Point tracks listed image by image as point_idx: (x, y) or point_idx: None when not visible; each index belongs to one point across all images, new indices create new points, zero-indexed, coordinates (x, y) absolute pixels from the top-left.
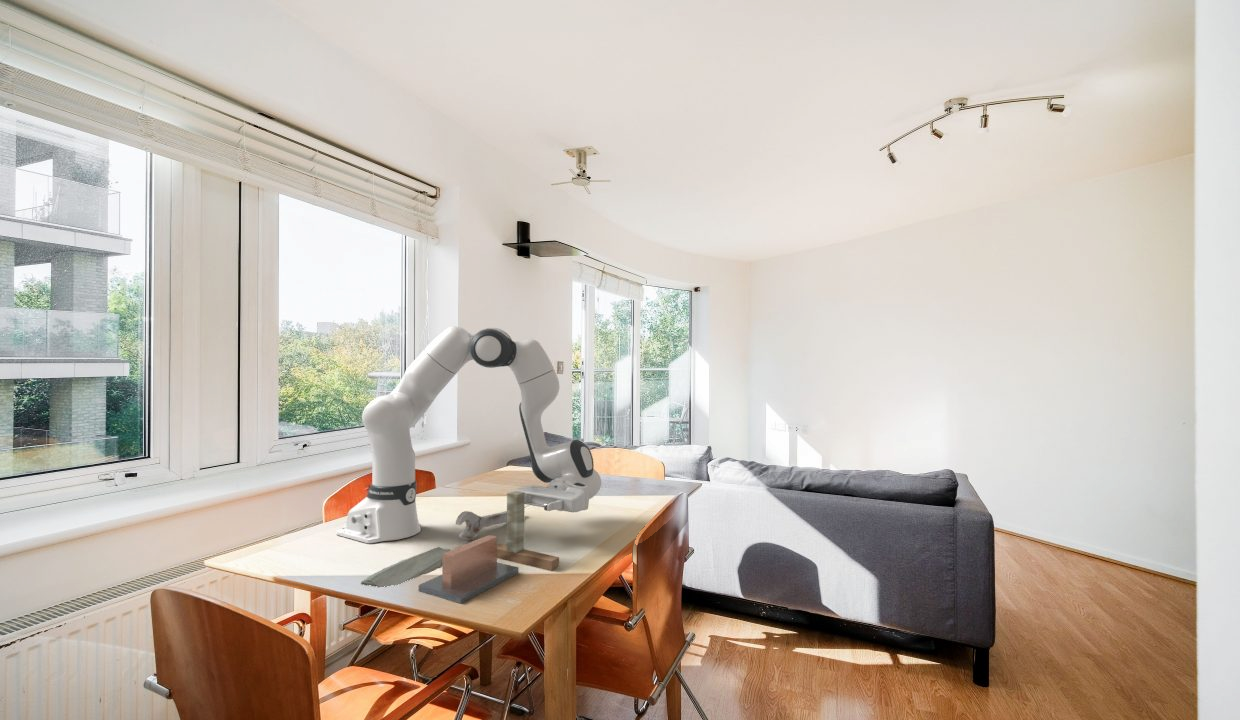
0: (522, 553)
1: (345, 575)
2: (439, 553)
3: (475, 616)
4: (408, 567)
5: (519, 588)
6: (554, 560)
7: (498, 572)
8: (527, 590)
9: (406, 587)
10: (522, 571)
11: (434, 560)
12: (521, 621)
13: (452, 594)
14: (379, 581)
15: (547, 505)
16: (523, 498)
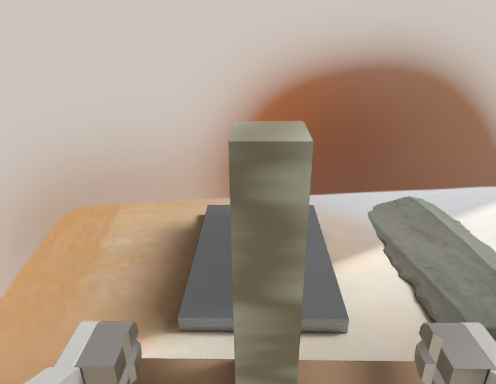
0: (212, 367)
1: (484, 206)
2: (475, 291)
3: (158, 204)
4: (422, 232)
5: (129, 275)
6: None
7: (213, 278)
8: (105, 275)
9: (344, 214)
10: (172, 342)
11: (431, 269)
12: (76, 215)
13: (228, 205)
14: (395, 203)
15: (100, 321)
16: (230, 174)
